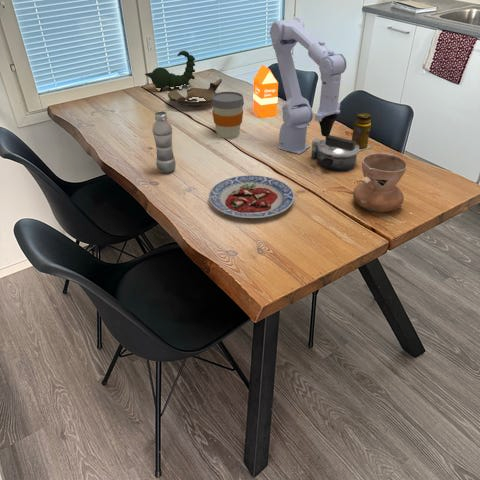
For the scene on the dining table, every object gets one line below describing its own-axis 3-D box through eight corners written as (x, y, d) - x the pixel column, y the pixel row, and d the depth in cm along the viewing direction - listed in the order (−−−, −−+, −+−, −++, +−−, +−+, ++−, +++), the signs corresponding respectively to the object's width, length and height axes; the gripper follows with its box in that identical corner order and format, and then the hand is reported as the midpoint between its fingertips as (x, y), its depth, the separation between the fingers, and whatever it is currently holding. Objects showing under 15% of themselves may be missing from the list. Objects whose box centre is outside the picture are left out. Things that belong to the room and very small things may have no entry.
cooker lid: (304, 149, 156) (305, 139, 154) (322, 136, 165) (324, 126, 163) (348, 161, 148) (349, 150, 146) (365, 147, 157) (367, 136, 155)
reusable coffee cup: (208, 138, 178) (206, 100, 169) (218, 126, 188) (216, 90, 179) (239, 141, 175) (238, 103, 167) (247, 129, 185) (247, 92, 176)
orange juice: (268, 110, 204) (270, 63, 192) (277, 116, 197) (279, 68, 186) (252, 112, 202) (253, 65, 190) (260, 119, 195) (261, 70, 183)
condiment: (372, 147, 171) (377, 116, 164) (355, 152, 167) (360, 120, 160) (358, 140, 176) (362, 110, 169) (341, 145, 172) (346, 114, 165)
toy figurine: (190, 87, 238) (143, 88, 228) (191, 48, 227) (141, 48, 218) (196, 92, 230) (147, 94, 221) (197, 52, 220) (146, 53, 211)
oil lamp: (160, 101, 214) (158, 85, 210) (217, 92, 226) (217, 76, 221) (178, 116, 198) (176, 99, 194) (239, 105, 210) (238, 88, 205)
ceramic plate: (290, 227, 127) (291, 218, 125) (200, 219, 130) (199, 210, 129) (297, 184, 147) (297, 176, 146) (219, 178, 151) (219, 170, 149)
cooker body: (299, 165, 158) (300, 152, 155) (322, 148, 170) (324, 135, 167) (342, 178, 150) (344, 164, 147) (363, 158, 162) (366, 145, 159)
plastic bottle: (161, 176, 152) (154, 118, 140) (154, 168, 156) (147, 111, 145) (179, 172, 154) (174, 115, 142) (172, 164, 159) (166, 108, 147)
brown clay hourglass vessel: (377, 224, 128) (387, 179, 119) (338, 203, 137) (344, 160, 129) (416, 204, 137) (427, 160, 128) (376, 186, 146) (384, 144, 138)
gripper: (331, 103, 139) (326, 145, 146) (350, 91, 148) (345, 131, 156) (310, 99, 142) (307, 140, 150) (331, 87, 152) (326, 127, 159)
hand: (325, 135), depth 153 cm, fingers closed
